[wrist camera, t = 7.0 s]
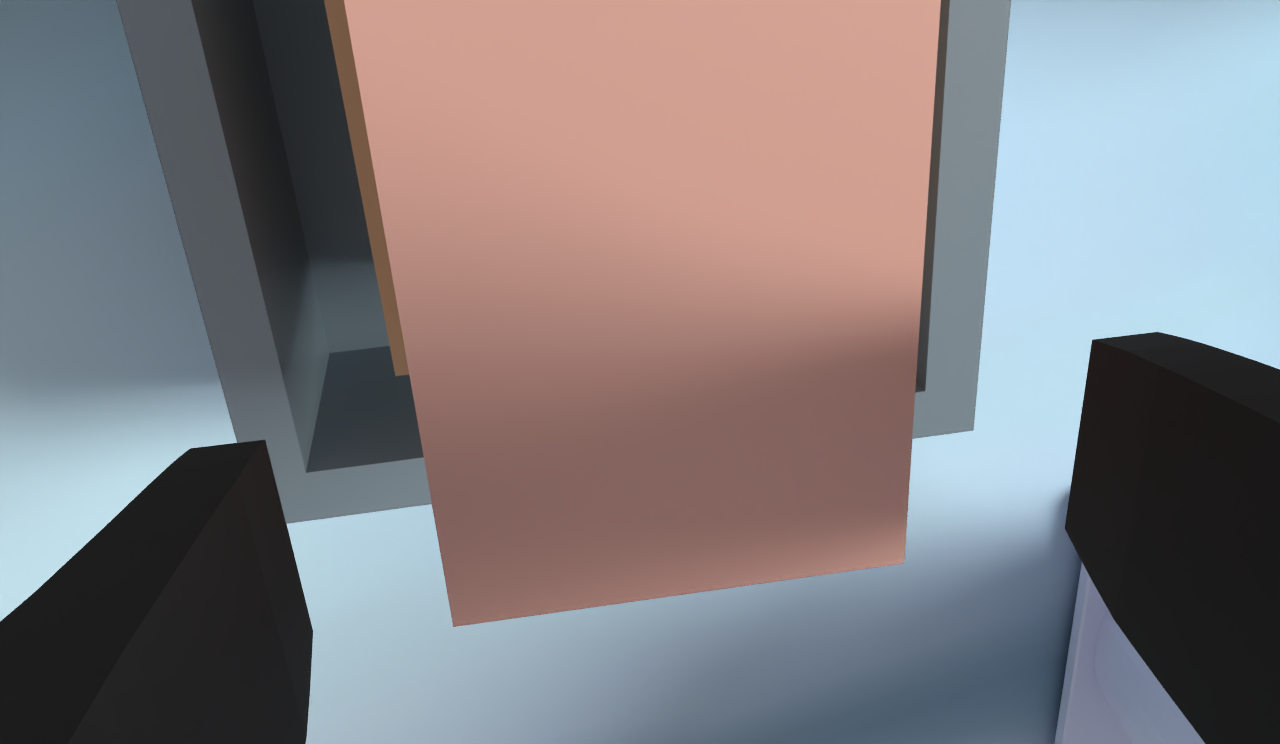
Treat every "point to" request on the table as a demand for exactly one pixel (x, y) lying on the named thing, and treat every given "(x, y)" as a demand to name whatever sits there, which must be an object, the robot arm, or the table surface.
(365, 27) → the coral box
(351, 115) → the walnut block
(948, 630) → the table surface
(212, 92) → the tote
